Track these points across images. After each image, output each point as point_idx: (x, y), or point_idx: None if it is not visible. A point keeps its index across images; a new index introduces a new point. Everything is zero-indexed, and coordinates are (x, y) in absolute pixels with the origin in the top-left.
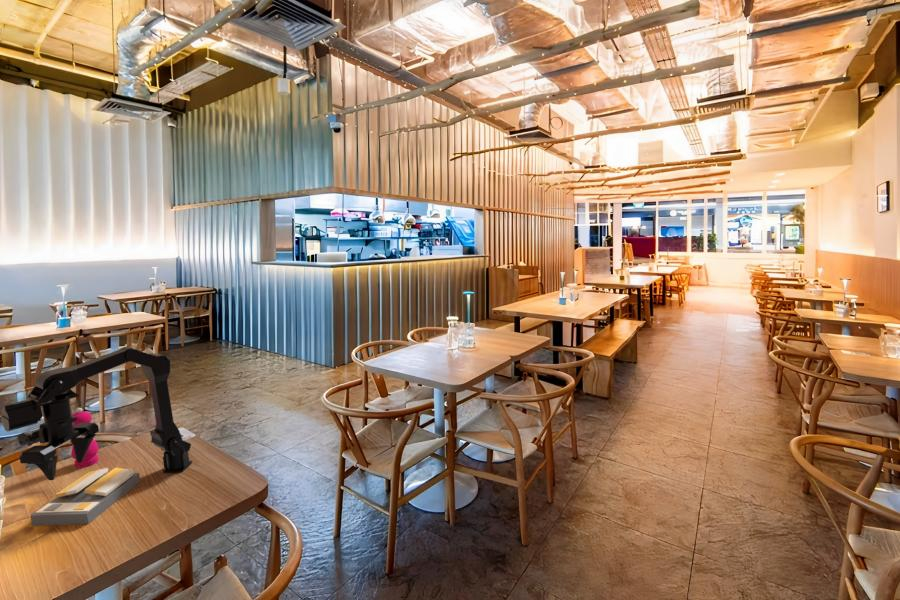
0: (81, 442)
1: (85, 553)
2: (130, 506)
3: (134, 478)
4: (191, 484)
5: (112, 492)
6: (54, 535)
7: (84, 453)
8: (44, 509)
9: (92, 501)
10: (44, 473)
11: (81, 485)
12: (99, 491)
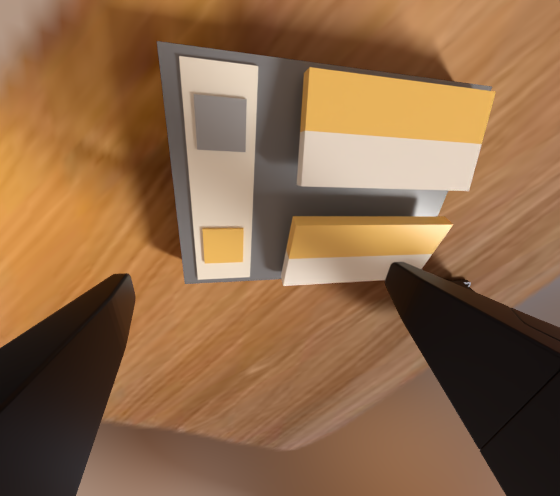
0: (544, 459)
1: None
2: (268, 307)
3: None
4: (339, 364)
5: None
6: (121, 203)
7: (425, 354)
8: (199, 95)
9: (258, 249)
10: (40, 330)
11: (336, 184)
12: (289, 268)
